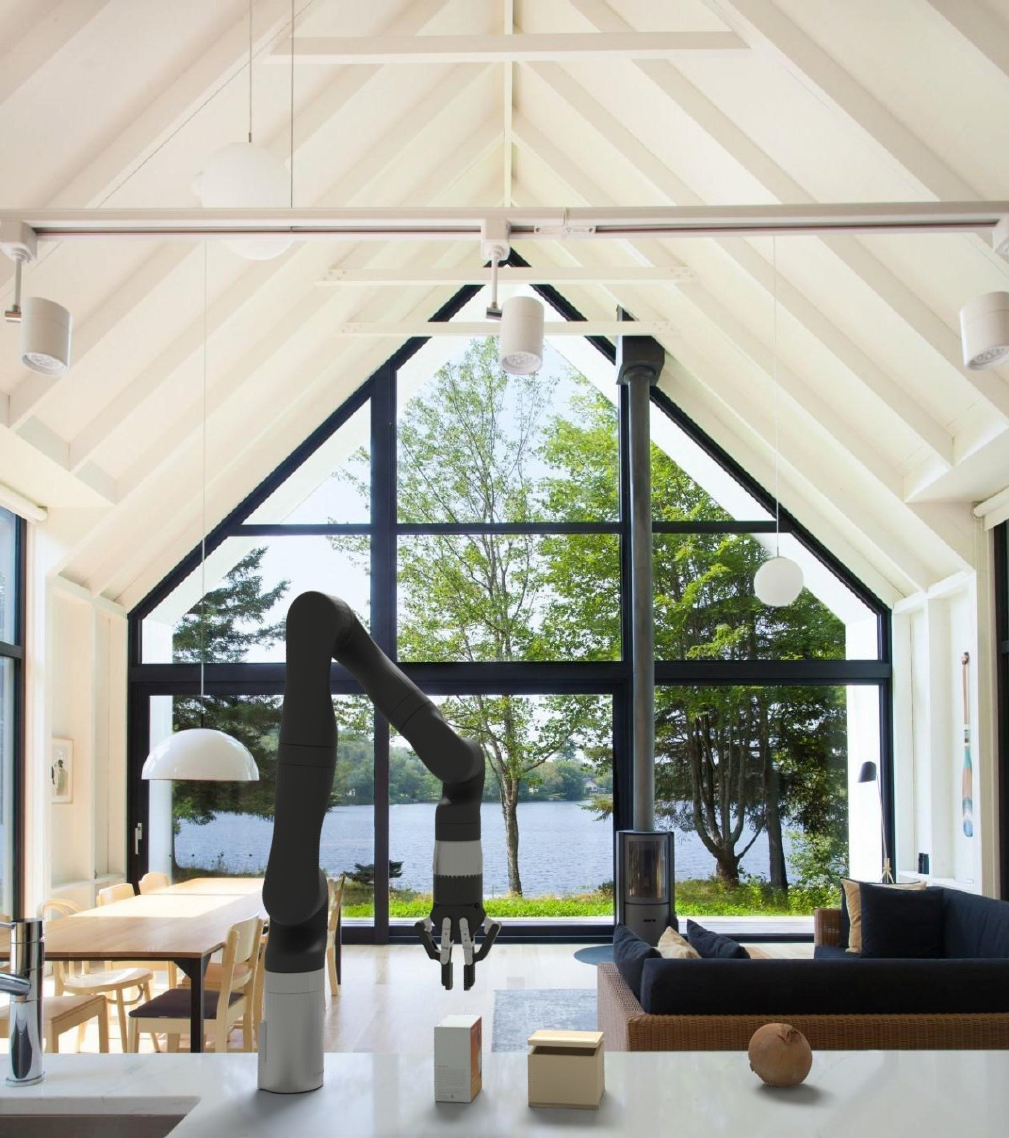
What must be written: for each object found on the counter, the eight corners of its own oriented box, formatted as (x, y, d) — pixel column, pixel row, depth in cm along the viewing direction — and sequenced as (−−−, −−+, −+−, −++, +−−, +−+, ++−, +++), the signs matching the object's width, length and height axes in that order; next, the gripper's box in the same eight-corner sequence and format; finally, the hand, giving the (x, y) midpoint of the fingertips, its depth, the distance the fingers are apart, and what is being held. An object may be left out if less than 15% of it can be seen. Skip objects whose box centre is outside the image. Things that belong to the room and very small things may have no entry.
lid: (527, 1045, 171) (527, 1039, 171) (537, 1034, 181) (537, 1029, 181) (596, 1047, 169) (596, 1042, 170) (603, 1037, 179) (603, 1031, 179)
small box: (471, 1104, 171) (470, 1027, 173) (433, 1102, 173) (433, 1026, 174) (483, 1088, 179) (482, 1015, 181) (447, 1086, 180) (446, 1013, 182)
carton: (528, 1106, 170) (527, 1055, 171) (538, 1086, 180) (538, 1037, 181) (598, 1109, 168) (597, 1057, 169) (604, 1088, 178) (603, 1039, 179)
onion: (804, 1111, 176) (824, 1055, 174) (741, 1092, 177) (760, 1036, 175) (798, 1070, 185) (817, 1016, 183) (739, 1052, 186) (757, 998, 184)
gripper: (507, 868, 183) (508, 986, 180) (419, 867, 185) (419, 983, 183) (498, 874, 175) (499, 996, 173) (407, 872, 178) (406, 993, 175)
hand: (458, 989), depth 178 cm, fingers closed
